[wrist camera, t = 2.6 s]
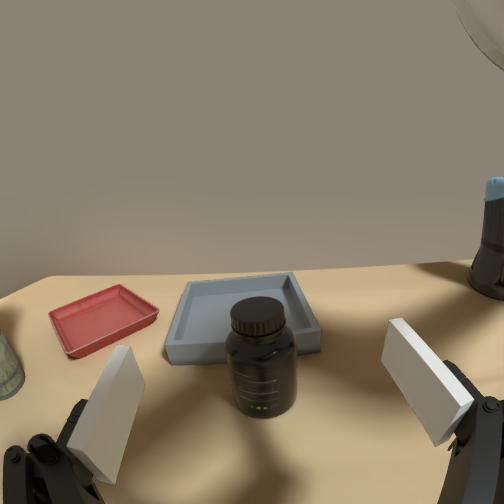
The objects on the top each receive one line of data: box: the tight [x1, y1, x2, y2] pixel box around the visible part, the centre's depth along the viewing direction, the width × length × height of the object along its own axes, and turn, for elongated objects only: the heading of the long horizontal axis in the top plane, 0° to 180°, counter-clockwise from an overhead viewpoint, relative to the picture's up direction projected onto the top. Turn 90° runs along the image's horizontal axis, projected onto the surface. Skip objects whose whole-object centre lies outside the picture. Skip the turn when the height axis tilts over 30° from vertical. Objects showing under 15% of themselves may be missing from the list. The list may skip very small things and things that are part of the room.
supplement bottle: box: [225, 296, 297, 419], centre depth 26 cm, size 7×7×12 cm
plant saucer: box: [48, 284, 159, 358], centre depth 44 cm, size 18×18×3 cm
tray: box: [165, 272, 322, 365], centre depth 43 cm, size 20×20×4 cm
